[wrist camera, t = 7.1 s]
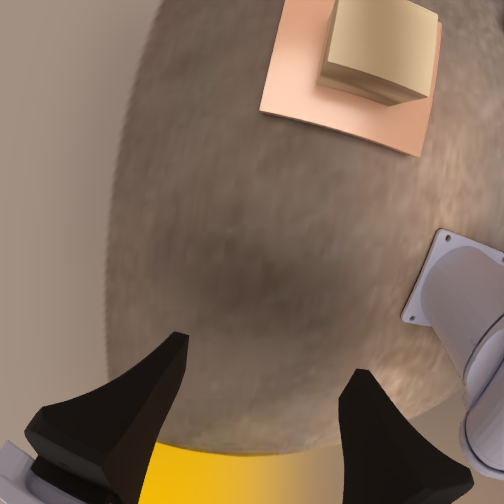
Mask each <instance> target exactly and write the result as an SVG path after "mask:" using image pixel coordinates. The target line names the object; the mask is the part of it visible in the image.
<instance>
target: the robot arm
mask: <svg viewBox="0 0 504 504" xmlns="http://www.w3.org/2000/svg"><path fill="white" fill-rule="evenodd" d="M447 235H449V237H448V239H447V240H445V238H446V236H447ZM503 257H504V253H503V252H501V251H499V250H496V249H494V248H491V247H489V246H487V245H484V244H482V243H479V242H477V241H474V240H472V239H469V238H467V237H464V236H461V235H459V234H456V233H454V232H451V231H448V230H445V229H439V230H438V231H437V233H436V235H435V238H434V241H433V243H432V246H431V248H430V251H429V254H428V256H427V259H426V261H425V263H424V266H423V268H422V271H421V273H420V275H419V278H418V280H417V282H416V284H415V287H414V289H413V291H412V293H411V295H410V297H409V300H408V302H407V304H406V306H405V308H404V310H403V312H402V314H401V319H402V321H403V322H406V323H412V324H417V325H422V326H428V327H432V328H433V330H434V331H435V333H436V335H437V336H438V338H439V340H440V342H441V343H442V345H443V347H444V348H445V350H446V352H447V354H448V356H449V357H450V359H451V361H452V363H453V365H454V367H455V368H456V370H457V372H458V374H459V376H460V378H461V380H462V382H463V384H464V386H465V392H464V394H463V396H462V401H463V403H464V405H465V407H466V409H467V412H466V414H465V415H464V417H463V418H462V421H461V423H460V427H459V443H460V447H461V450H462V452H463V455H464V456H465V458H466V460H467V461H468V463H469V464H470V465H471V466H472V467H473V468H474V469H475V470H476V471H478V472H479V473H481V474H482V475H485V476H487V477H491V478H496V479H501V480H504V258H503ZM502 259H503V260H502ZM411 316H413V318H410V317H411ZM188 342H189V335H186V334H182V333H179V332H173V333H172V334H171V335H170V336H169V337H168V338H167V339H166V340H165V341H164V342H163V343H162V344H161V345H159V346H158V347H157V348H156V349H155V350H154V351H153V352H152V353H150V354H149V355H148V356H147V357H146V358H144V359H143V360H142V361H141V362H139V363H138V364H137V365H135V366H134V367H132V368H131V369H130V370H128V371H127V372H125V373H124V374H122V375H121V376H119V377H118V378H116V379H114V380H113V381H111V382H109V383H107V384H105V385H103V386H101V387H99V388H98V389H95V390H93V391H91V392H89V393H86V394H84V395H81V396H78V397H76V398H73V399H70V400H67V401H64V402H60V403H56V404H52V405H48V406H44V407H42V408H41V409H40V410H39V411H38V412H37V413H36V414H35V416H34V417H33V419H32V420H31V421H30V423H29V424H28V426H27V427H26V429H25V430H24V433H25V437H26V438H27V440H28V442H29V443H30V444H31V446H32V447H33V448H34V450H35V451H36V452H37V454H38V457H37V458H36V460H34V459H33V458H32V457H31V456H30V455H28V454H27V453H25V452H24V451H23V450H21V449H20V448H18V447H17V446H15V445H14V444H13V443H11V442H10V441H7V440H6V441H5V443H4V445H3V446H2V448H1V449H0V499H1V500H2V501H3V502H4V503H6V504H138V501H139V498H140V494H141V490H142V486H143V482H144V479H145V475H146V472H147V468H148V465H149V462H150V458H151V455H152V452H153V449H154V446H155V443H156V440H157V437H158V434H159V432H160V429H161V427H162V425H163V423H164V421H165V418H166V416H167V414H168V412H169V410H170V408H171V406H172V403H173V401H174V399H175V397H176V395H177V393H178V390H179V388H180V385H181V382H182V379H183V376H184V373H185V369H186V361H187V351H188ZM338 411H339V425H340V433H341V441H342V448H343V456H344V492H343V503H342V504H451V503H452V502H454V501H455V500H457V499H458V498H459V497H461V496H463V495H464V494H465V493H467V492H468V491H469V490H470V489H471V488H472V487H473V485H474V481H473V477H472V474H471V471H470V469H469V468H467V467H465V466H463V465H462V464H460V463H458V462H456V461H454V460H453V459H451V458H449V457H448V456H447V455H445V454H443V453H442V452H441V451H440V450H438V449H437V448H435V447H434V446H433V445H432V444H431V443H429V442H428V441H427V440H426V439H425V438H424V437H423V436H422V435H421V434H420V433H418V432H417V430H416V429H415V428H414V427H413V426H412V425H411V424H410V423H409V422H408V421H407V420H406V418H405V417H404V416H403V415H402V414H401V413H400V411H399V410H398V409H397V408H396V406H395V405H394V404H393V402H392V401H391V400H390V398H389V397H388V396H387V394H386V393H385V391H384V390H383V389H382V387H381V386H380V384H379V383H378V382H377V380H376V379H375V378H374V376H373V375H372V374H371V372H370V371H369V370H364V369H356V370H355V372H354V374H353V375H352V377H351V379H350V380H349V382H348V384H347V385H346V387H345V389H344V390H343V392H342V394H341V395H340V397H339V408H338Z"/></svg>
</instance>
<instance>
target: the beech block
mask: <svg viewBox="0 0 504 504" xmlns="http://www.w3.org/2000/svg"><path fill="white" fill-rule="evenodd" d="M437 21H438V15H437V14H435V13H433V12H431V11H429V10H427V9H425V8H423V7H421V6H418V5H416V4H414V3H412V2H409V1H407V0H335V3H334V5H333V8H332V11H331V14H330V17H329V20H328V25H327V30H326V35H325V40H324V45H323V50H322V55H321V60H320V65H319V70H318V75H317V79H316V84H317V85H321V86H325V87H329V88H332V89H336V90H340V91H343V92H346V93H350V94H353V95H356V96H359V97H363V98H366V99H369V100H372V101H375V102H377V103H380V104H383V105H386V106H393V105H397V104H401V103H405V102H410V101H414V100H418V99H423V98H427V97H429V93H430V87H431V80H432V73H433V65H434V57H435V47H436V36H437Z"/></svg>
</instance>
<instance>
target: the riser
mask: <svg viewBox="0 0 504 504" xmlns="http://www.w3.org/2000/svg"><path fill="white" fill-rule="evenodd" d="M334 3H335V0H285V4H284V8H283V12H282V16H281V20H280V24H279V28H278V32H277V37H276V41H275V45H274V49H273V53H272V57H271V62H270V66H269V70H268V75H267V79H266V83H265V88H264V92H263V96H262V101H261V105H260V111H261V112H262V113H264V114H269V115H274V116H278V117H283V118H287V119H292V120H296V121H300V122H304V123H308V124H312V125H316V126H319V127H323V128H327V129H330V130H334V131H337V132H340V133H344V134H347V135H350V136H354V137H357V138H360V139H363V140H366V141H369V142H372V143H375V144H378V145H381V146H384V147H386V148H389V149H392V150H395V151H397V152H400V153H403V154H405V155H408V156H413V157H417V158H420V155H421V151H422V146H423V142H424V138H425V134H426V129H427V125H428V120H429V115H430V110H431V104H432V99H433V93H434V87H435V81H436V74H437V67H438V59H439V50H440V40H441V27H442V23H440V22H438V21H437V36H436V47H435V57H434V65H433V73H432V80H431V87H430V93H429V97H427V98H423V99H418V100H414V101H410V102H405V103H401V104H397V105H393V106H386V105H383V104H380V103H377V102H375V101H372V100H369V99H366V98H363V97H359V96H356V95H353V94H350V93H346V92H343V91H340V90H336V89H332V88H329V87H325V86H321V85H317V84H316V79H317V75H318V70H319V65H320V60H321V55H322V50H323V45H324V40H325V35H326V30H327V25H328V20H329V17H330V14H331V11H332V8H333V5H334Z"/></svg>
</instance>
